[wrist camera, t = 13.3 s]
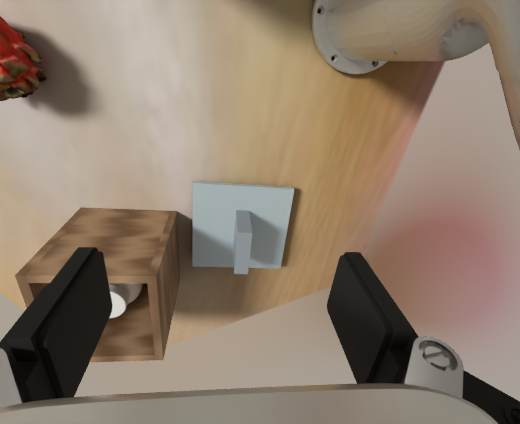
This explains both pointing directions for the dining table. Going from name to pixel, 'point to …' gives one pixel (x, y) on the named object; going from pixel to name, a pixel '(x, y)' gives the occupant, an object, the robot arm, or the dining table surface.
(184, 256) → the dining table surface
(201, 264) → the lid
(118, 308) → the supplement bottle
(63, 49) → the dining table surface
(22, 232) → the dining table surface
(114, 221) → the crate
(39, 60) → the dragon fruit
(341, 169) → the dining table surface
